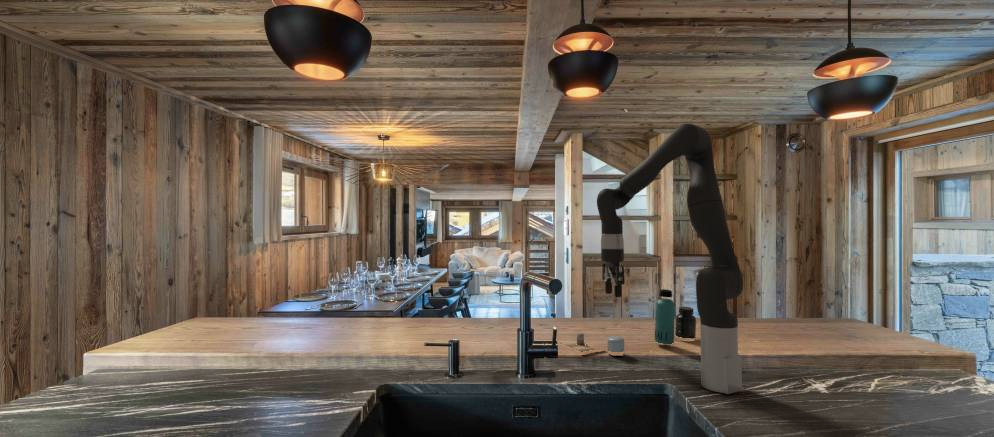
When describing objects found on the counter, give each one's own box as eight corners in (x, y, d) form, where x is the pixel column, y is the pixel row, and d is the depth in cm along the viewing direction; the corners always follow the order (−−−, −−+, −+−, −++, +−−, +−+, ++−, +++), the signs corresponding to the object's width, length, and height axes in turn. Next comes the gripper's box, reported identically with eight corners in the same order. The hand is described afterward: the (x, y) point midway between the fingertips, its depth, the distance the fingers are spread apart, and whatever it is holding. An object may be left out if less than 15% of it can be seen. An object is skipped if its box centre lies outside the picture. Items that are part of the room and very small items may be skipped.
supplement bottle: (671, 338, 164) (672, 306, 163) (686, 336, 166) (687, 305, 166) (683, 344, 158) (685, 311, 157) (699, 342, 160) (700, 309, 159)
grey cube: (627, 355, 144) (627, 339, 144) (615, 357, 142) (615, 341, 142) (616, 351, 149) (616, 336, 149) (604, 353, 147) (604, 337, 147)
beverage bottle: (671, 343, 157) (672, 288, 156) (676, 350, 151) (678, 292, 149) (652, 342, 158) (653, 287, 157) (656, 349, 151) (658, 291, 150)
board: (605, 351, 149) (605, 336, 149) (581, 356, 144) (581, 340, 144) (582, 343, 159) (582, 329, 159) (560, 347, 155) (559, 332, 155)
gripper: (631, 248, 144) (632, 298, 143) (615, 246, 158) (616, 292, 158) (609, 248, 143) (610, 298, 143) (594, 246, 157) (595, 292, 157)
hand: (613, 295), depth 150 cm, fingers open, 8 cm apart
